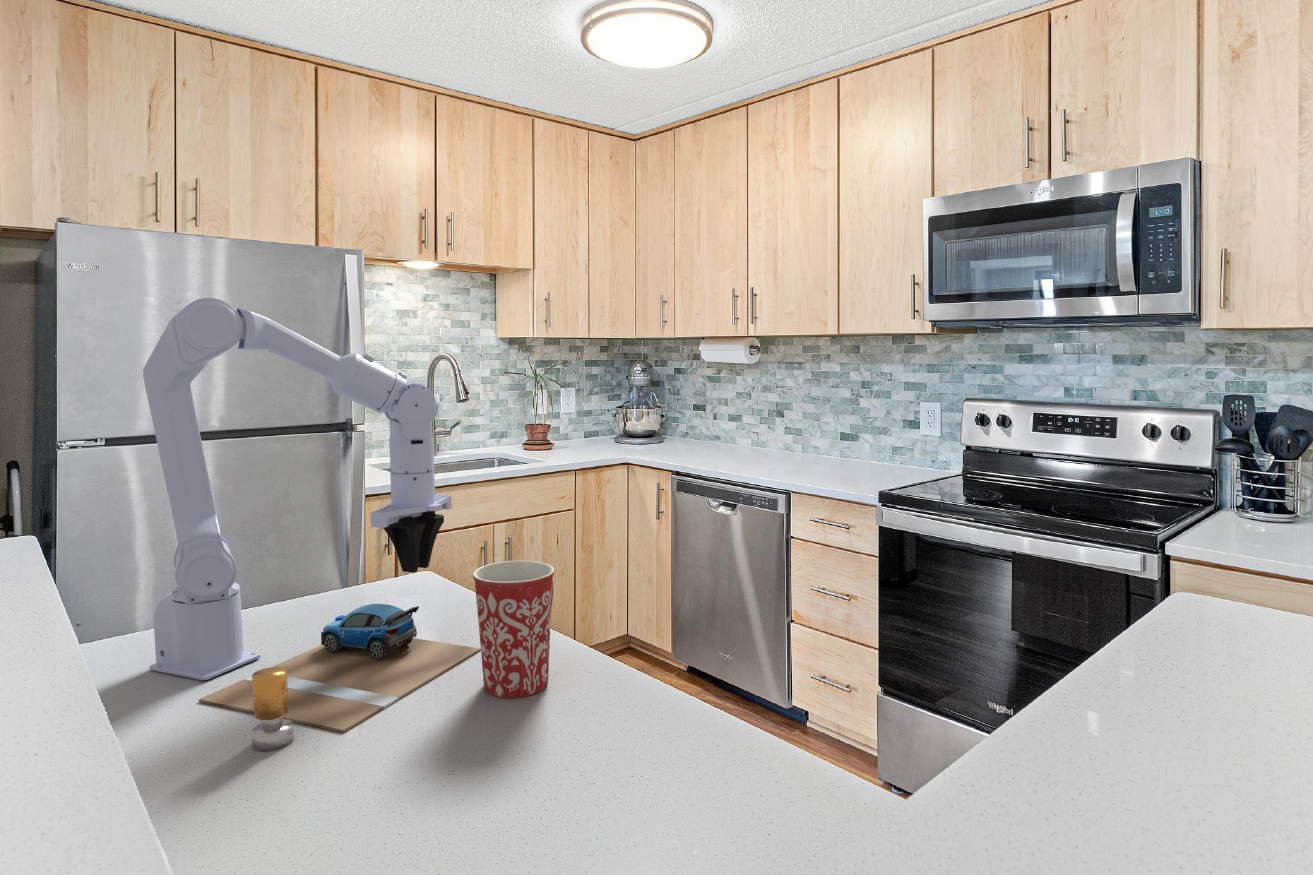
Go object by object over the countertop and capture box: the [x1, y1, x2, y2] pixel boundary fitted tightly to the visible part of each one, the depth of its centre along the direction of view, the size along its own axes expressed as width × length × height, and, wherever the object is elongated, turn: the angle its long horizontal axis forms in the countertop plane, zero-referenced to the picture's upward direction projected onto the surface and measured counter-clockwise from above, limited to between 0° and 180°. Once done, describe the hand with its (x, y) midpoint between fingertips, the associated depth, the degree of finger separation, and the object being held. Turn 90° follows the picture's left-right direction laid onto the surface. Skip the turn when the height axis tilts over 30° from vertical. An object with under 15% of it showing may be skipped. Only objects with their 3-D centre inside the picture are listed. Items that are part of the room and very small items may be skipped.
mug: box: [472, 560, 556, 699], centre depth 91 cm, size 13×9×14 cm
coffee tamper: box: [251, 666, 295, 752], centre depth 76 cm, size 4×4×7 cm
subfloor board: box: [198, 637, 481, 734], centre depth 93 cm, size 20×24×1 cm
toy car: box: [320, 603, 420, 660], centre depth 100 cm, size 6×12×6 cm, turn 71°
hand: (415, 569), depth 108 cm, fingers closed
